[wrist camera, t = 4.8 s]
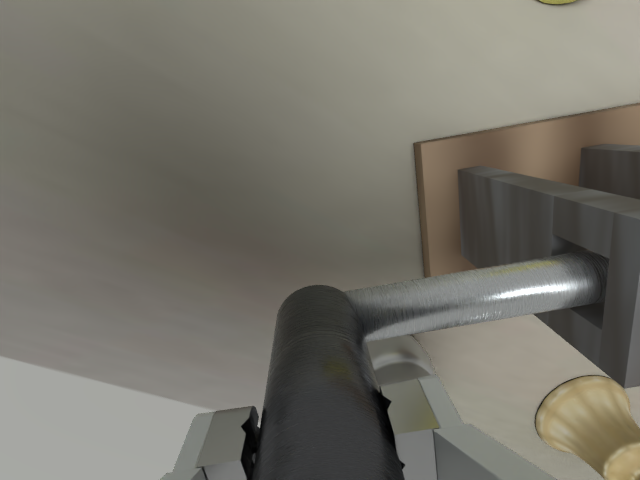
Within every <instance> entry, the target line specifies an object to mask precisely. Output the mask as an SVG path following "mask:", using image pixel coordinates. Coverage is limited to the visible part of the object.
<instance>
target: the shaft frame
mask: <svg viewBox="0 0 640 480" xmlns="http://www.w3.org/2000/svg"><path fill="white" fill-rule="evenodd" d="M414 152H415V164H416V176H417V189H418V201H419V213H420V226H421V238H422V250H423V263H424V275H425V278H427V277H433V276H439V275H445V274H451V273H457V272H463V271H468V270H474V269H480V268H486V267H492V266H498V265H504V264H509V263H515V262H521V261H527V260H533V259H539V258H545V257H550V256H556V255H562V254H568V253H574V252H580V251H586V250H591V251H593V252H595V253H598V254H600V255H602V256H604V257H607V258H609V267H608V277H607V287H606V297H605V302H600V303H594V304H588V305H582V306H576V307H571V308H565V309H559V310H553V311H547V312H541V313H535V314H534V315H535V316H536V317H538V318H539V319H540V320H541V321H542V322H544V323H545V324H546V325H547V326H549V327H550V328H551V329H552V330H553V331H555V332H556V333H557V334H558V335H560V336H561V337H562V338H563V339H564V340H566V341H567V342H568V343H569V344H571V345H572V346H573V347H574V348H575V349H577V350H578V351H579V352H580V353H581V354H583V355H584V356H585V357H586V358H588V359H589V360H590V361H591V362H592V363H594V364H595V365H596V366H597V367H599V368H600V369H601V370H602V371H603V372H605V373H606V374H607V375H608V376H610V377H611V378H612V379H613V380H614V381H616V382H617V383H618V384H619V385H621V386H622V387H623V388H630V387H637V386H640V103H637V104H631V105H625V106H620V107H614V108H608V109H603V110H597V111H592V112H586V113H580V114H575V115H569V116H563V117H558V118H552V119H546V120H541V121H535V122H530V123H524V124H518V125H513V126H507V127H501V128H496V129H490V130H484V131H479V132H473V133H468V134H462V135H456V136H451V137H445V138H439V139H434V140H428V141H422V142H417V143H414Z"/></svg>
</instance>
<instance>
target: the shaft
mask: <svg viewBox="0 0 640 480" xmlns="http://www.w3.org/2000/svg"><path fill="white" fill-rule="evenodd" d="M608 267H609V258H607V257H604V256H602V255H600V254H598V253H595V252H593V251H591V250H586V251H580V252H574V253H568V254H562V255H556V256H550V257H545V258H539V259H533V260H527V261H521V262H515V263H509V264H504V265H498V266H492V267H486V268H480V269H474V270H468V271H463V272H457V273H451V274H445V275H439V276H433V277H427V278H422V279H416V280H410V281H404V282H398V283H392V284H386V285H381V286H375V287H369V288H363V289H357V290H351V291H345V292H342V291H340V290H338V289H336V288H333V287H330V286H324V285H313V286H308V287H304V288H301V289H299V290H297V291H295V292H294V293H292V294H291V295H290V296H289V297H287V299H286V300H285V301H284V302H283V304H282V305H281V307H280V309H279V312H278V315H277V321H276V328H275V334H274V341H273V347H272V354H271V360H270V367H269V373H268V380H267V386H266V393H265V399H264V405H263V412H262V418H261V425H260V431H259V438H258V444H257V451H256V457H255V464H254V470H253V477H252V480H405V478H404V474H403V471H402V467H401V464H400V460H399V458H398V455H397V453H396V449H395V446H394V442H393V438H392V435H391V431H390V428H389V421H388V418H387V416H386V413H385V410H384V406H383V402H382V399H381V395H380V389H379V385H378V382H377V378H376V375H375V371H374V367H373V364H372V360H371V357H370V353H369V350H368V346H367V343H366V342H368V341H374V340H380V339H386V338H392V337H398V336H404V335H410V334H416V333H422V332H428V331H434V330H440V329H446V328H452V327H458V326H463V325H469V324H475V323H481V322H487V321H493V320H499V319H505V318H511V317H517V316H523V315H529V314H535V313H541V312H547V311H553V310H559V309H565V308H571V307H576V306H582V305H588V304H594V303H600V302H605V297H606V287H607V277H608Z"/></svg>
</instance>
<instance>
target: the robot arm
mask: <svg viewBox="0 0 640 480" xmlns="http://www.w3.org/2000/svg"><path fill="white" fill-rule="evenodd" d="M379 389H380V395H381V399H382V402H383V406H384V410H385V413H386V416H387V418H388V421H389V428H390V431H391V435H392V438H393V442H394V446H395V449H396V453H397V455H398V458H399V460H400V464H401V467H402V471H403V474H404V478H405V480H557V479H556V478H554V477H553V476H551V475H550V474H548V473H546V472H545V471H543V470H542V469H540V468H539V467H537V466H536V465H534V464H532V463H531V462H529V461H528V460H526V459H525V458H523V457H522V456H520V455H518V454H517V453H515V452H514V451H512V450H511V449H509V448H508V447H506V446H504V445H503V444H501V443H500V442H498V441H497V440H495V439H494V438H492V437H490V436H489V435H487V434H486V433H484V432H483V431H481V430H480V429H478V428H476V427H475V426H473V425H472V424H464V423H463V421H462V420H461V418H460V416H459V414H458V412H457V410H456V408H455V407H454V405H453V403H452V401H451V399H450V397H449V395H448V394H447V392H446V390H445V388H444V386H443V384H442V382H441V380H440V379H439V377H438V376H437V375H436V374H435V375H429V376H424V377H418V378H417V379H416V378H415V379H409V380H403V381H397V382H392V383H386V384H380V385H379ZM258 419H259V416H258V413H257V410H256V407H254V406H248V407H241V408H234V409H227V410H220V411H216V412H209V413H201V414H197V415H196V417H194V419H193V421H192V424H191V426H190V429H189V431H188V434H187V436H186V439H185V442H184V444H183V447H182V449H181V452H180V454H179V457H178V459H177V462H176V464H175V467H174V469H173V472H171V473H166V474H165V475H164V476H163V477H162V478H161V479H160V480H252V477H253V470H254V464H255V457H256V451H257V444H258V438H259V431H260V428H259V427H257V425H258Z"/></svg>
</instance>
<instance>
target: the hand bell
mask: <svg viewBox="0 0 640 480" xmlns="http://www.w3.org/2000/svg"><path fill="white" fill-rule="evenodd" d="M536 429H537V432H538V434H539V436H540V438H541V439H542V440H543V441H544V442H545V443H546V444H548V445H549V446H551V447H553V448H555V449H557V450H560V451H563V452H568V453H572V454H574V455H576V456H578V457H579V458H581V459H582V460H584V461H585V462H586V463H587V464H589V465H590V466H591V467H592V468H593V469H594V470H596V471H597V472H598V473H599V474H600V475H601V476H602V477H603V478H604V479H605V480H640V428H639V427H638V426H637V424H636V423H635V421H634V420H633V418H632V416H631V414H630V402H629V398H628V396H627V394H626V392H625V390H624V389H623V387H622V386H621V385H619V384H618V383H617V382H616V381H614V380H612V379H610V378H607V377H603V376H583V377H579V378H575V379H573V380H571V381H568V382H566V383H564V384H562V385H560V386H559V387H557V388H556V389H555V390H554V391H552V392H551V393H550V394H549V395H548V396H547V397H546V399H545V400H544V401H543V403H542V404H541V406H540V408H539V410H538V412H537V416H536Z"/></svg>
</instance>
